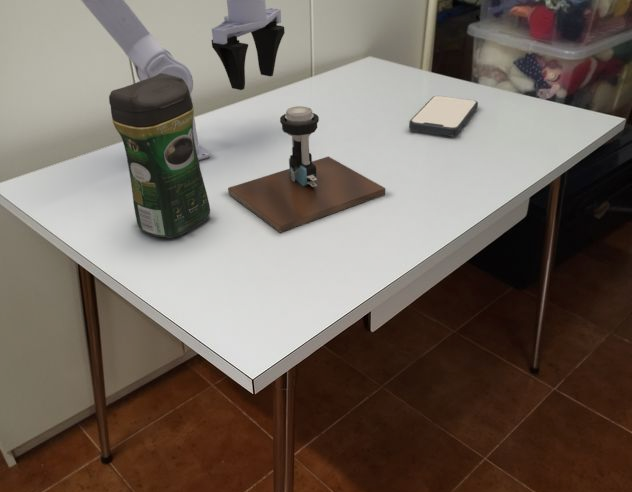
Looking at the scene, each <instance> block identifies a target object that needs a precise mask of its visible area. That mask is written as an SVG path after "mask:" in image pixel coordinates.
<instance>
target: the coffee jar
mask: <svg viewBox="0 0 632 492" xmlns="http://www.w3.org/2000/svg"><path fill="white" fill-rule="evenodd" d="M191 98H192V95H191V96H190V92H189V89H188V86H187V84H186V83H185V81H184V80H183V79H182V78H179V77H176V76H172V75H168V74H163V73H159V74H158V75H156V76H154V77H151V78H148V79H145V80H142V81H140V80H139V81H137V82H134V83H132V84H129V85H126V86H124V87H119V88H117V89H116V88H115V89H113V90H112V91H111V92H110V93H109V95H108V103H109V105H110V114H111V120H112V124H113V127H114V128H115V130H116V131H117V132H118V134H119V136H120V137H121V140H122V143H123V146H124V152H125V156H126V160H127V166H128V172H129V179H130V187H131V193H132V202H133V209H134V215H135V219H136V225H137V227H138V228H139V229H140V230H141V231H143V232H144V233H145V234H148V235H150V236H152V237H156V238H168V239H169V238H171V239H172V238H176V237H179V236H181V235H184V234H185V233H187V232H189V231H191V230H192V229H194V228H195V227H198V226H199V225H201V224H202V223H203V222H204V221H206V220H207V219H208V218H209V216H210V215H211V206H210V202H209V201H210V200H209V197H208V192H207V190H206V185H205V181H204V178H203V173H202V169H201V165H200V160H198V156H197V152H196V148H195V142H194V136H193V116H194V117H195V109H194V108H195V107H194V103H193V99H192V100H191Z"/></svg>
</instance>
